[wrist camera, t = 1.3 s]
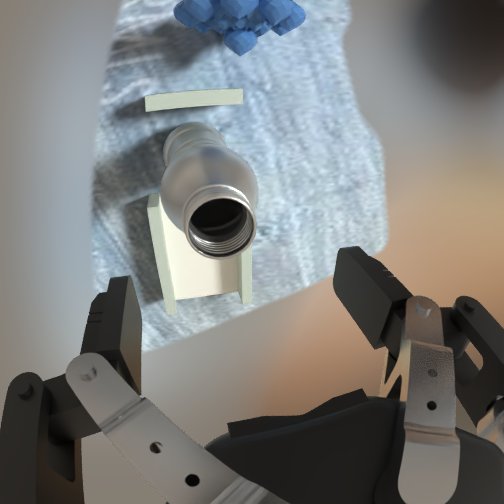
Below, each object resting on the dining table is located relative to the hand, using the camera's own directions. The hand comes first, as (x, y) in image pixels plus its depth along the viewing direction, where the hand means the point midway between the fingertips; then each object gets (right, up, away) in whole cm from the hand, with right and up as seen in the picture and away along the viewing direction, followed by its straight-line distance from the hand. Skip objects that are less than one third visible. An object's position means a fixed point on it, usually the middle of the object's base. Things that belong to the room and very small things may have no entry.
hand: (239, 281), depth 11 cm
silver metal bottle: (-6, +12, +21) cm, 25 cm away
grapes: (-2, +24, +15) cm, 28 cm away
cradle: (-6, +1, +27) cm, 28 cm away
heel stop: (-6, +17, +17) cm, 25 cm away
